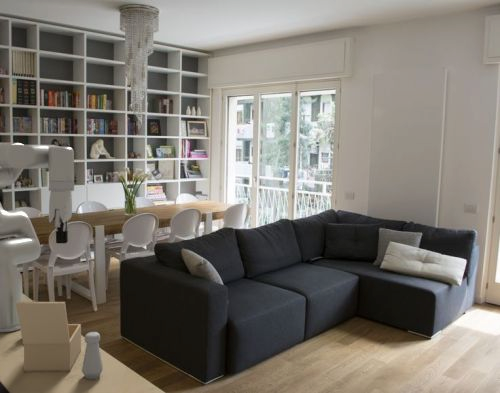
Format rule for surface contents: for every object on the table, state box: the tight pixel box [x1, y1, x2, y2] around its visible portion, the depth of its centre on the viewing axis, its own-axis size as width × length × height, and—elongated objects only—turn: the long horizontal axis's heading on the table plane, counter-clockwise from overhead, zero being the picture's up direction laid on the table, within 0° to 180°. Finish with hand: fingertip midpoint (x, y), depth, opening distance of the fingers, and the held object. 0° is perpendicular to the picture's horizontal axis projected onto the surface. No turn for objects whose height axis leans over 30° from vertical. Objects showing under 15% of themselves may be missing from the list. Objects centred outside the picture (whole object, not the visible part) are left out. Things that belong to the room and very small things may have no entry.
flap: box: [16, 301, 70, 345], centre depth 139 cm, size 15×13×1 cm
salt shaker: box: [81, 331, 104, 381], centre depth 141 cm, size 6×6×13 cm
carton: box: [23, 323, 82, 373], centre depth 150 cm, size 14×13×9 cm
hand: (61, 242), depth 156 cm, fingers closed
